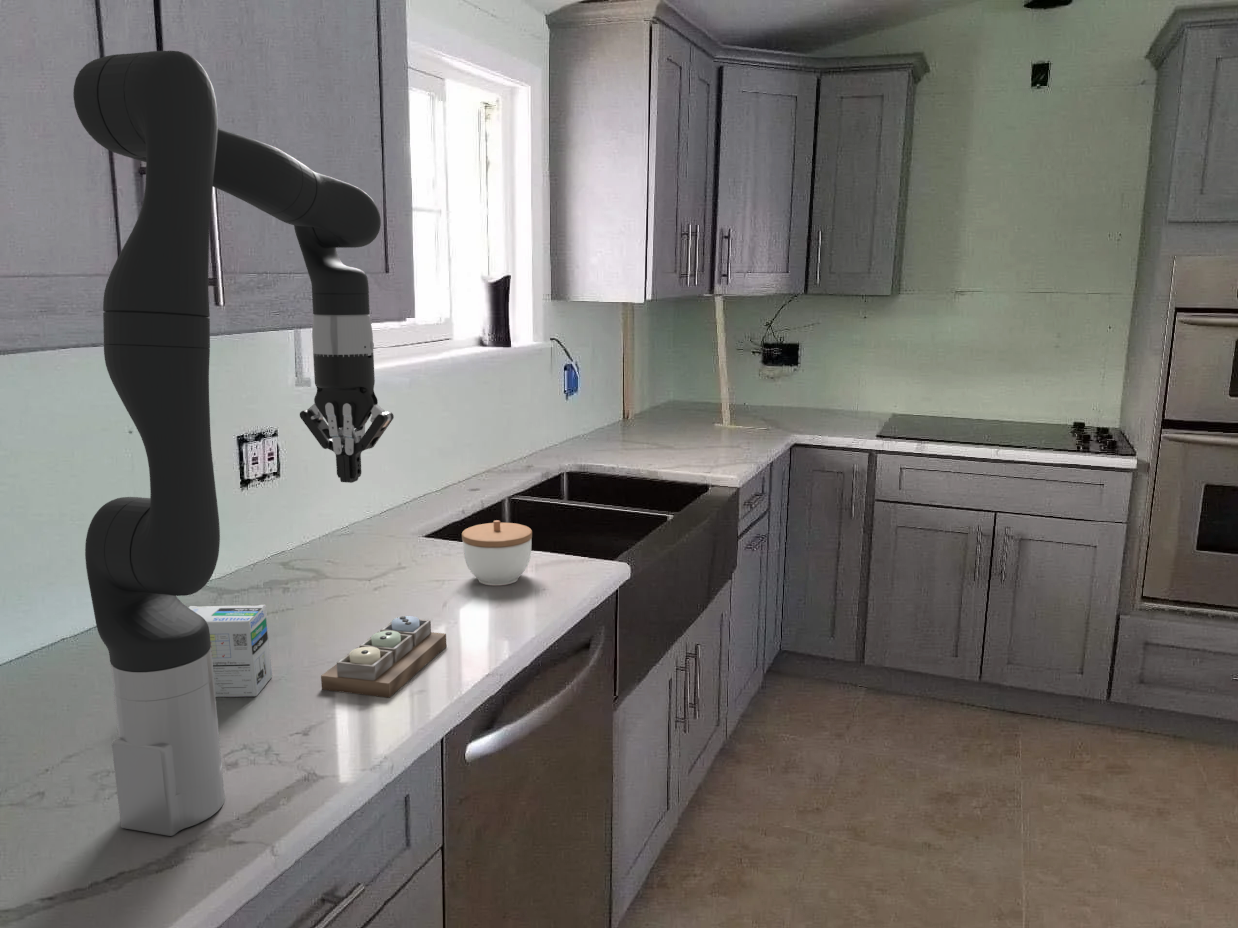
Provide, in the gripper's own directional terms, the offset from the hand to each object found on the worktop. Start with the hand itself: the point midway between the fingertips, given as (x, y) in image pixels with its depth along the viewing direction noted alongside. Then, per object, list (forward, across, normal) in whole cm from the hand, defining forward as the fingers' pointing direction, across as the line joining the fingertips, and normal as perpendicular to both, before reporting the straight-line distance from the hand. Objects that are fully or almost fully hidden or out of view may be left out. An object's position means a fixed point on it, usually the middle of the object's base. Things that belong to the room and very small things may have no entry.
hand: (349, 481), depth 126 cm
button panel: (+28, +2, +5) cm, 28 cm away
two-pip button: (+26, +2, +5) cm, 26 cm away
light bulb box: (+28, -16, -7) cm, 33 cm away
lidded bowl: (+27, +3, +45) cm, 53 cm away
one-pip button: (+26, +2, -1) cm, 26 cm away
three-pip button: (+25, +2, +11) cm, 28 cm away
